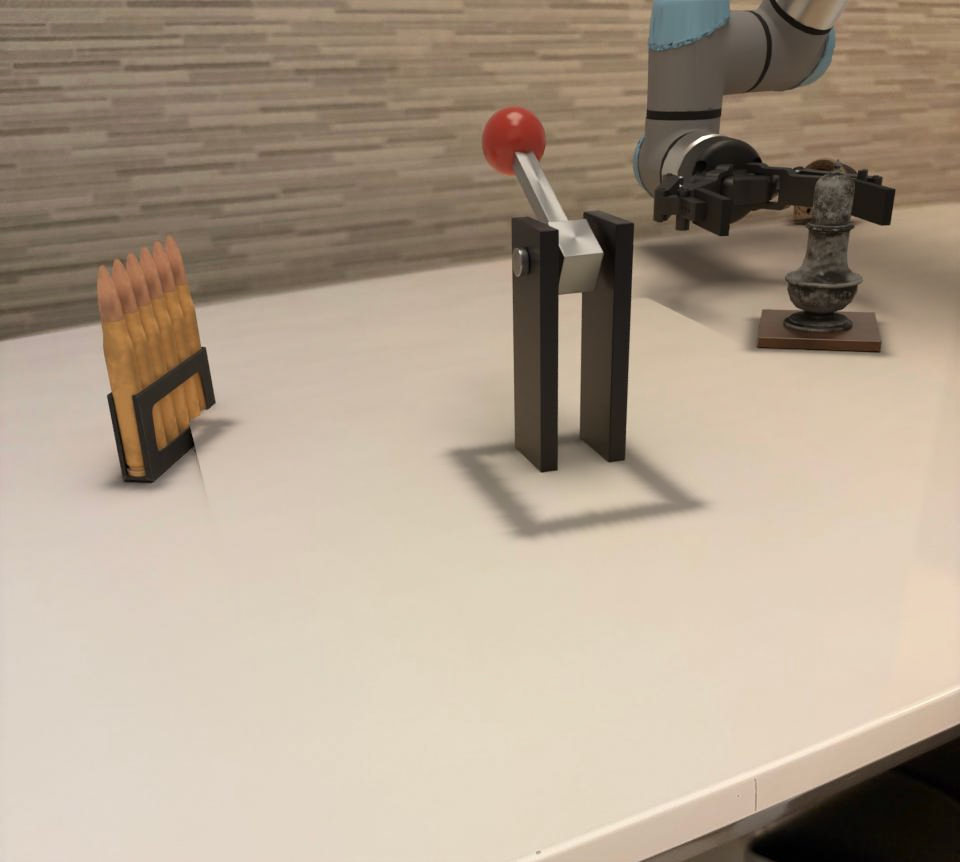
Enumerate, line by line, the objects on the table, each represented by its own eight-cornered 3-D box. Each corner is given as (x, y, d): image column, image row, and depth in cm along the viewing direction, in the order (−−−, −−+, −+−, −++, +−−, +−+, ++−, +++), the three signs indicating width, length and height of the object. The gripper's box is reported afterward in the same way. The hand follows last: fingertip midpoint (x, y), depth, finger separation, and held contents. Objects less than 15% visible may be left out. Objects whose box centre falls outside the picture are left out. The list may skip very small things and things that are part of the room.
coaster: (873, 322, 89) (875, 312, 88) (880, 351, 81) (881, 341, 81) (761, 318, 91) (761, 308, 90) (757, 347, 83) (758, 337, 83)
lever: (470, 154, 62) (477, 94, 59) (529, 149, 63) (539, 90, 60) (541, 306, 56) (552, 248, 53) (605, 299, 57) (620, 241, 54)
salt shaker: (808, 310, 89) (827, 152, 83) (871, 323, 85) (896, 157, 79) (764, 324, 86) (780, 160, 80) (827, 337, 82) (850, 166, 76)
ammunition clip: (151, 482, 63) (109, 268, 57) (122, 481, 63) (77, 268, 57) (219, 422, 72) (190, 232, 66) (193, 421, 72) (161, 232, 66)
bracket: (463, 452, 66) (453, 210, 59) (600, 432, 68) (606, 197, 61) (530, 528, 56) (527, 248, 49) (688, 502, 58) (707, 231, 51)
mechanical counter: (765, 170, 129) (823, 158, 121) (847, 150, 134) (909, 137, 125) (772, 233, 132) (830, 225, 123) (852, 211, 136) (913, 202, 127)
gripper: (830, 212, 107) (945, 252, 89) (585, 227, 104) (653, 272, 85) (841, 128, 103) (963, 152, 85) (587, 142, 100) (658, 170, 82)
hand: (808, 212), depth 85 cm, fingers open, 13 cm apart
